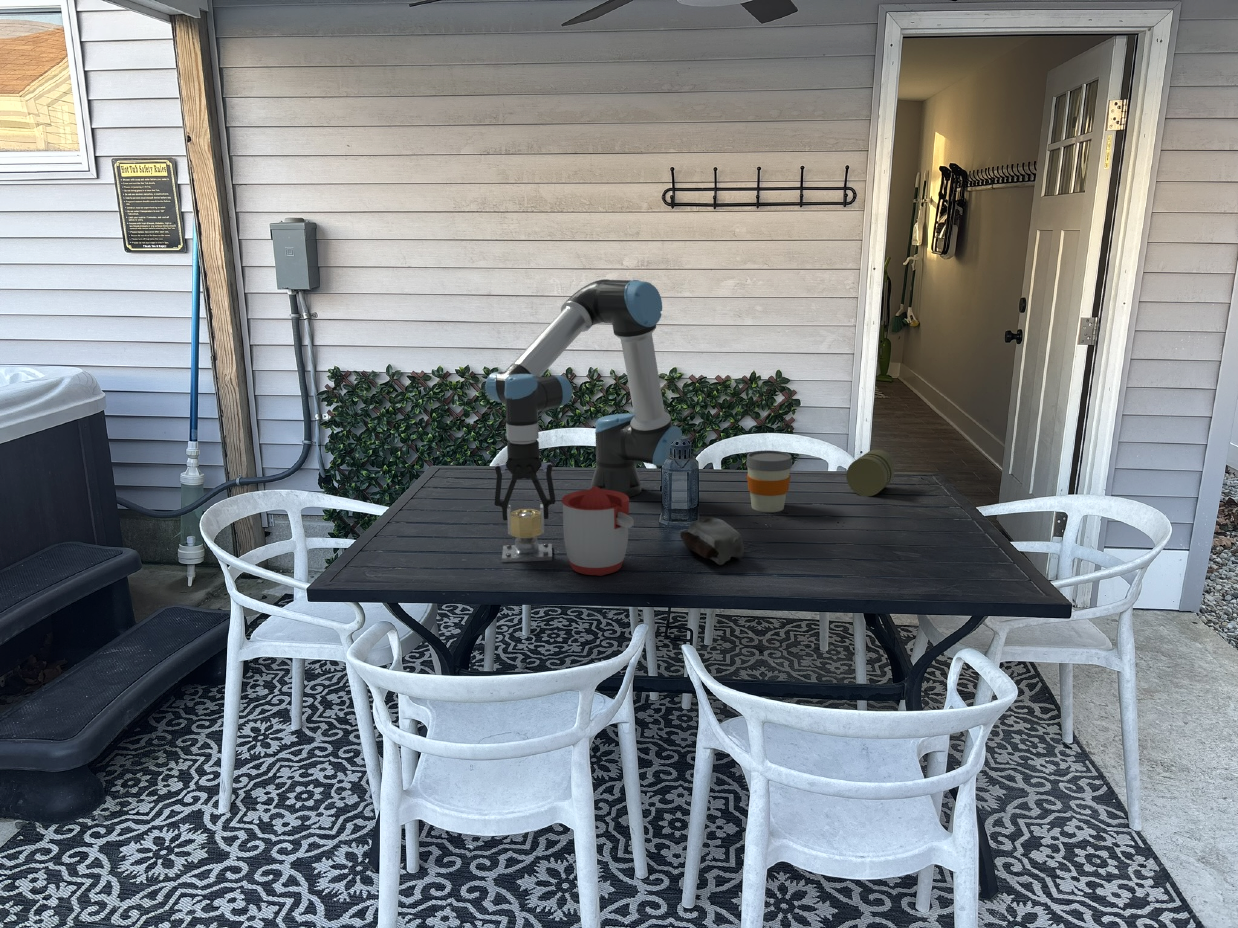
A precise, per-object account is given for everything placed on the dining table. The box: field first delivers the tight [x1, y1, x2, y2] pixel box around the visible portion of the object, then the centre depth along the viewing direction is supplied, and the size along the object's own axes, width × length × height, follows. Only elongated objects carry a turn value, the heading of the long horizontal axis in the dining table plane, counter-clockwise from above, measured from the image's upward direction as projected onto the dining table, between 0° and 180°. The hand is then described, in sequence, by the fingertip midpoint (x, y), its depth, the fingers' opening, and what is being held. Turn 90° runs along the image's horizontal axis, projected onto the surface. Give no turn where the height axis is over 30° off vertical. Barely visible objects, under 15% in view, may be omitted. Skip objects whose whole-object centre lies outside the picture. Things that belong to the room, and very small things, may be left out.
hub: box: [510, 508, 542, 538], centre depth 225 cm, size 7×7×5 cm
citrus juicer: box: [561, 486, 635, 577], centre depth 216 cm, size 16×17×20 cm
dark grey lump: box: [679, 516, 744, 566], centre depth 225 cm, size 18×11×8 cm, turn 20°
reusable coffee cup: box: [745, 450, 793, 513], centre depth 260 cm, size 13×13×15 cm
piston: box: [845, 449, 896, 497], centre depth 275 cm, size 11×12×11 cm
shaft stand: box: [501, 512, 553, 563], centre depth 226 cm, size 12×9×10 cm
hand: (526, 531), depth 226 cm, fingers closed on hub, 7 cm apart
